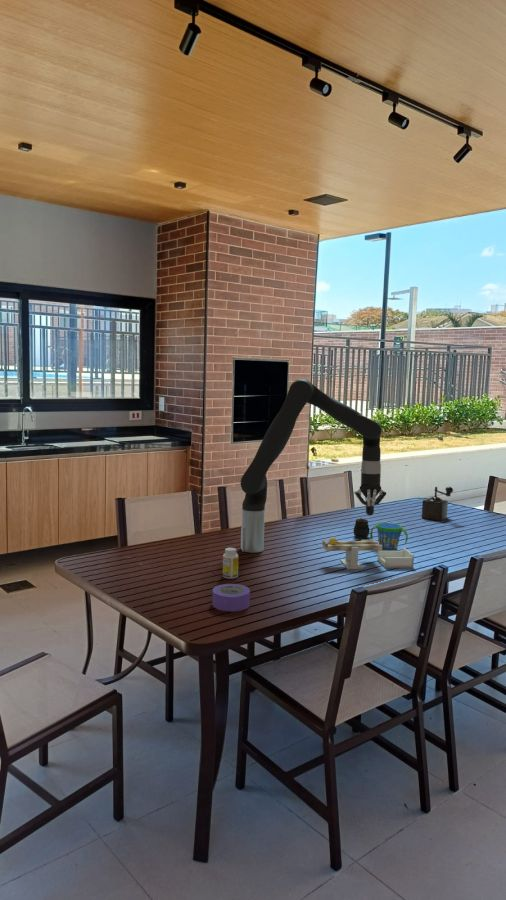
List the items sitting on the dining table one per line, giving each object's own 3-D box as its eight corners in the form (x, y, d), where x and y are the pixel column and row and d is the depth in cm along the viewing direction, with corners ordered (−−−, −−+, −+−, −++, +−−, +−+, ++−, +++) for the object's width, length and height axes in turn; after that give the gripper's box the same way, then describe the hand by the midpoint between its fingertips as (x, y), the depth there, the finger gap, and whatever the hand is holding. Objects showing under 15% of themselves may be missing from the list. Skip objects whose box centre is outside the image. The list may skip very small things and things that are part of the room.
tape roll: (240, 614, 196) (241, 598, 195) (206, 608, 200) (206, 592, 200) (255, 602, 207) (255, 586, 206) (221, 596, 211) (222, 581, 211)
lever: (325, 550, 245) (326, 543, 244) (319, 542, 257) (319, 535, 256) (382, 550, 247) (382, 543, 247) (372, 542, 259) (373, 535, 259)
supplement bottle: (237, 574, 234) (238, 546, 233) (238, 579, 229) (239, 551, 228) (222, 574, 234) (222, 546, 233) (222, 579, 228) (223, 551, 227)
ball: (330, 546, 246) (330, 538, 246) (328, 544, 249) (328, 536, 249) (338, 546, 247) (338, 538, 246) (336, 544, 250) (336, 536, 249)
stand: (347, 569, 244) (348, 548, 243) (340, 560, 255) (341, 540, 254) (362, 568, 245) (363, 548, 244) (355, 560, 256) (355, 540, 255)
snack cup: (409, 549, 275) (411, 525, 274) (402, 554, 266) (403, 530, 265) (374, 543, 282) (375, 520, 281) (366, 548, 273) (367, 525, 272)
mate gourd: (368, 535, 297) (369, 514, 295) (369, 539, 289) (371, 518, 288) (352, 534, 297) (353, 513, 296) (353, 539, 290) (354, 517, 288)
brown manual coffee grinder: (420, 518, 336) (422, 484, 334) (428, 514, 345) (430, 481, 343) (449, 522, 327) (451, 487, 325) (457, 519, 336) (459, 485, 333)
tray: (385, 568, 246) (386, 555, 246) (377, 560, 256) (378, 548, 256) (413, 567, 248) (413, 555, 247) (404, 560, 257) (404, 548, 257)
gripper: (357, 473, 249) (356, 517, 251) (390, 472, 250) (388, 516, 252) (351, 470, 256) (350, 513, 258) (384, 470, 258) (382, 512, 260)
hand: (369, 515), depth 255 cm, fingers closed
